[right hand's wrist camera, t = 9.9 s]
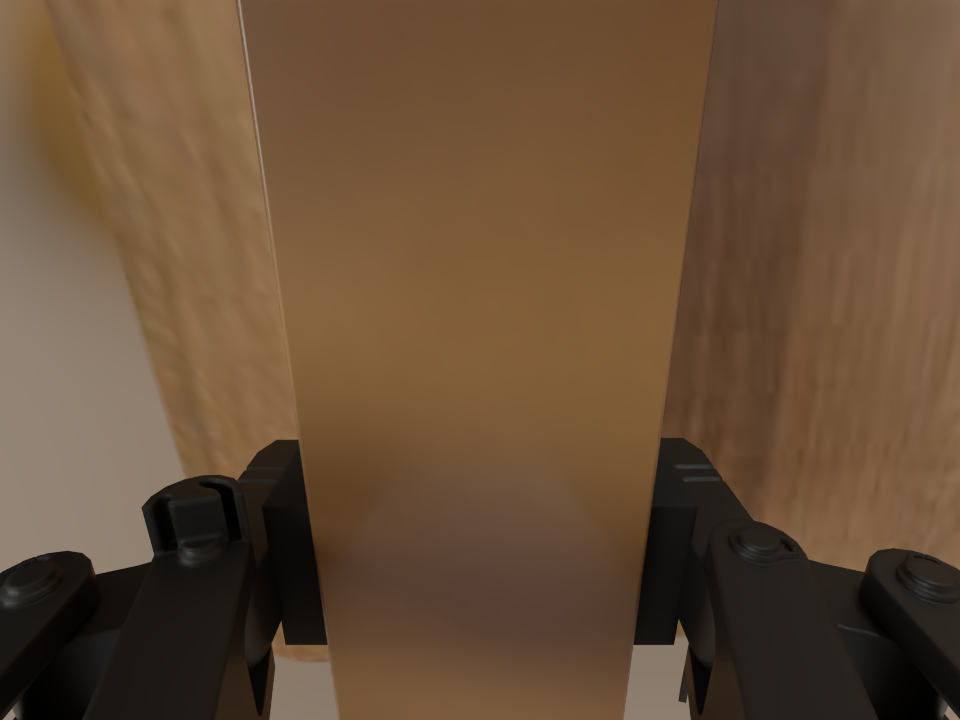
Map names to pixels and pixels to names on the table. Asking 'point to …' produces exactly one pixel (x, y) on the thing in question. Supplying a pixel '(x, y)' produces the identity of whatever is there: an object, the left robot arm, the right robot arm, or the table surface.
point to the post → (478, 329)
